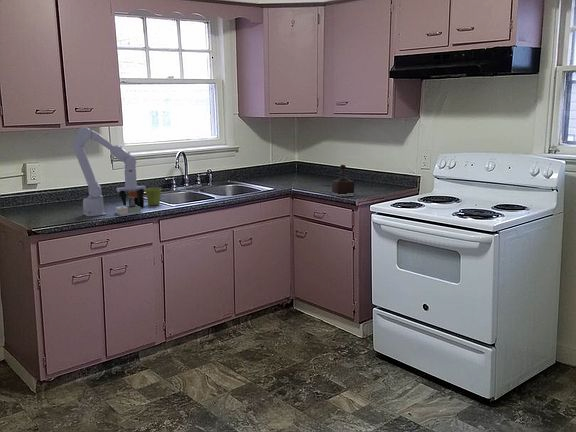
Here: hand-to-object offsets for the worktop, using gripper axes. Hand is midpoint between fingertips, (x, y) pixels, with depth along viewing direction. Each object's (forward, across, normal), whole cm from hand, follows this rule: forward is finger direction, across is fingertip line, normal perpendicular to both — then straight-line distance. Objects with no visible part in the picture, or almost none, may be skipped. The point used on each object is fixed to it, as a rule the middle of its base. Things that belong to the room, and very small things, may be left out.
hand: (131, 204), depth 301 cm
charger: (+4, -2, 0) cm, 4 cm away
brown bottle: (+4, +125, -20) cm, 126 cm away
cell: (+3, 0, 0) cm, 3 cm away
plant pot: (+4, +18, +15) cm, 24 cm away
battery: (+4, +7, +12) cm, 15 cm away
